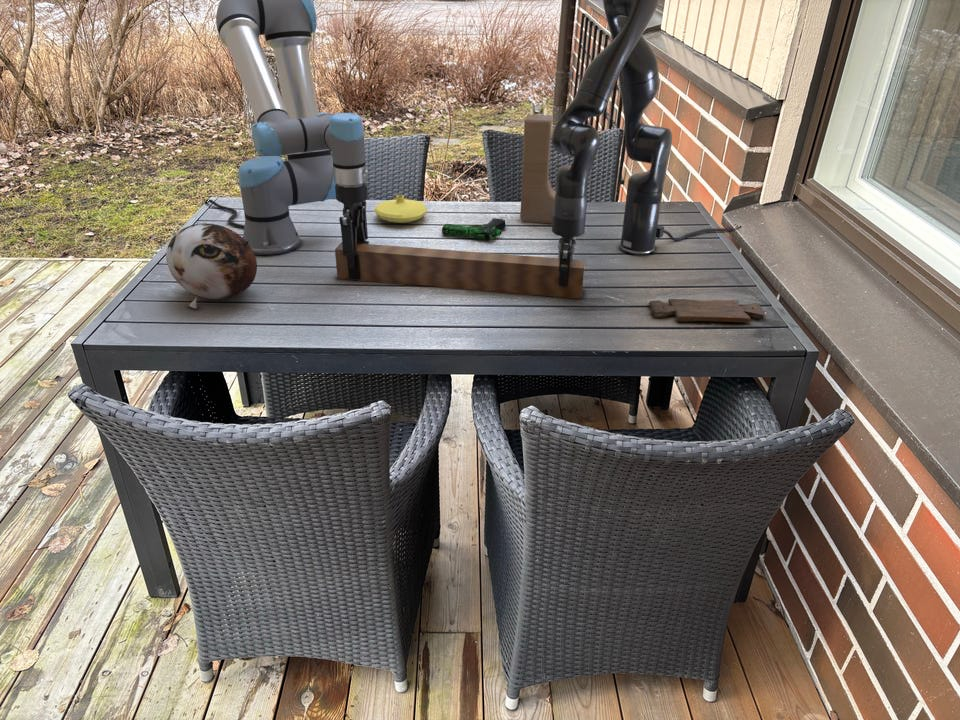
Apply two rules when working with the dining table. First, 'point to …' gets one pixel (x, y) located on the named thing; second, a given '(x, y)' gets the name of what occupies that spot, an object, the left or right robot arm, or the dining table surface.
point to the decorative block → (537, 171)
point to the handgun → (476, 230)
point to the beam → (463, 270)
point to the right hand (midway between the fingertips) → (564, 280)
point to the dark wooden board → (706, 310)
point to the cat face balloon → (211, 261)
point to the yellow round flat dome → (400, 210)
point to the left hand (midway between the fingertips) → (358, 274)
